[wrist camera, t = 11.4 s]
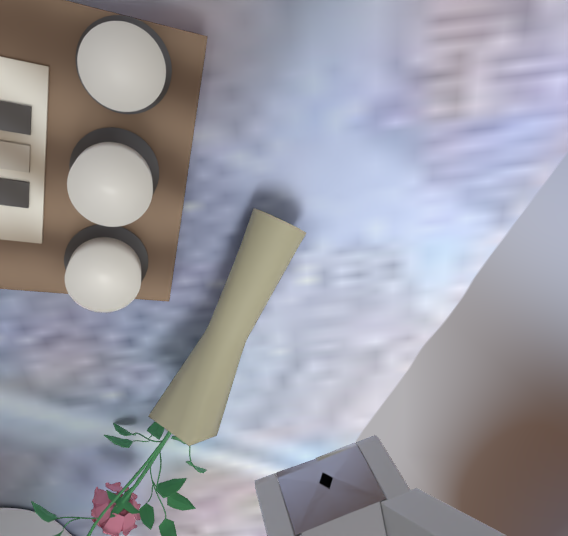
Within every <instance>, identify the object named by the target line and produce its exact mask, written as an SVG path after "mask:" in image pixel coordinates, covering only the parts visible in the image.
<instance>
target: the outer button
mask: <svg viewBox="0 0 568 536" xmlns="http://www.w3.org/2000/svg"><path fill="white" fill-rule="evenodd" d="M77 65H78V71H79V75H80V78H81V80H82V83H83V84H84V86H85V88H86V89H87V91H88V92H89V93H90V95H91V96H92V97H93V98H94V99H96V100H97V101H98V102H99V103H101V104H102V105H104V106H106V107H108V108H110V109H113V110H116V111H121V112H133V111H138V110H141V109H143V108H146V107H147V106H149V105H150V104H152V103H153V102H154V101H155V100H156V99H157V98H158V96H159V95H160V93H161V91H162V89H163V87H164V83H165V78H166V65H165V60H164V57H163V54H162V52H161V50H160V48H159V46H158V44H157V43H156V42H155V40H154V39H153V38H152V37H151V36H150V35H149V34H148V33H147V32H146V31H144V30H143V29H141V28H140V27H138V26H136V25H134V24H131V23H128V22H124V21H108V22H104V23H101V24H99V25H97V26H95V27H94V28H92V29H91V30H90V31H89V32H88V33H87V34H86V35H85V37H84V38H83V40H82V42H81V44H80V47H79V50H78V56H77Z"/></svg>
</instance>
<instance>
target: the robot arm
mask: <svg viewBox="0 0 568 536" xmlns="http://www.w3.org/2000/svg"><path fill="white" fill-rule="evenodd" d="M276 475H277V476H276ZM277 478H278V479H277ZM278 481H279V482H278ZM255 489H256V493H257V497H258V501H259V505H260V509H261V513H262V517H263V521H264V525H265V529H266V533H267V536H506V535H504V534H502V533H501V532H499V531H497V530H495V529H493V528H491V527H489V526H487V525H486V524H484V523H482V522H480V521H478V520H476V519H474V518H472V517H470V516H468V515H467V514H465V513H463V512H461V511H459V510H457V509H455V508H453V507H452V506H450V505H448V504H446V503H444V502H442V501H440V500H438V499H437V498H435V497H433V496H431V495H429V494H427V493H425V492H423V491H421V490H420V489H418V488H415V489H412V490H410V489H409V487H408V485H407V483H406V482H405V481H404V479H403V477H402V475H401V474H400V472H399V470H398V469H397V467H396V465H395V464H394V462H393V461H392V459H391V457H390V456H389V454H388V452H387V451H386V449H385V447H384V446H383V444H382V442H381V441H380V439H379V438H378V437H377V436H375V435H374V436H371V437H369V438H366V439H364V440H361V441H359V442H356V443H352V444H350V445H347V446H345V447H342V448H340V449H337V450H335V451H332V452H330V453H327V454H325V455H322V456H320V457H317V458H316V459H314V460H311V461H308V462H305V463H302V464H300V465H297V466H294V467H291V468H288V469H285V470H282V471H280V472H277V473H275V474H272V475H269V476H266V477H264V478H261V479H258V480H255ZM63 528H64V527H63V526H61V525H60V524H59V523H58V522H56V521H55V520H53V521H51V522H49V523H48V522H46V521H44V520H42V519H41V518H40V517H39V516H38V515H37V514H36V513H35V512H33V511H29V510H24V509H17V508H0V536H54V535H56V534H58V533H60V532H61V531H63V530H64V531H63V532H62V534H61V536H72V535H71V534H70V533H69V532H68V531H67V530H66V529H65V528H64V529H63Z"/></svg>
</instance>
